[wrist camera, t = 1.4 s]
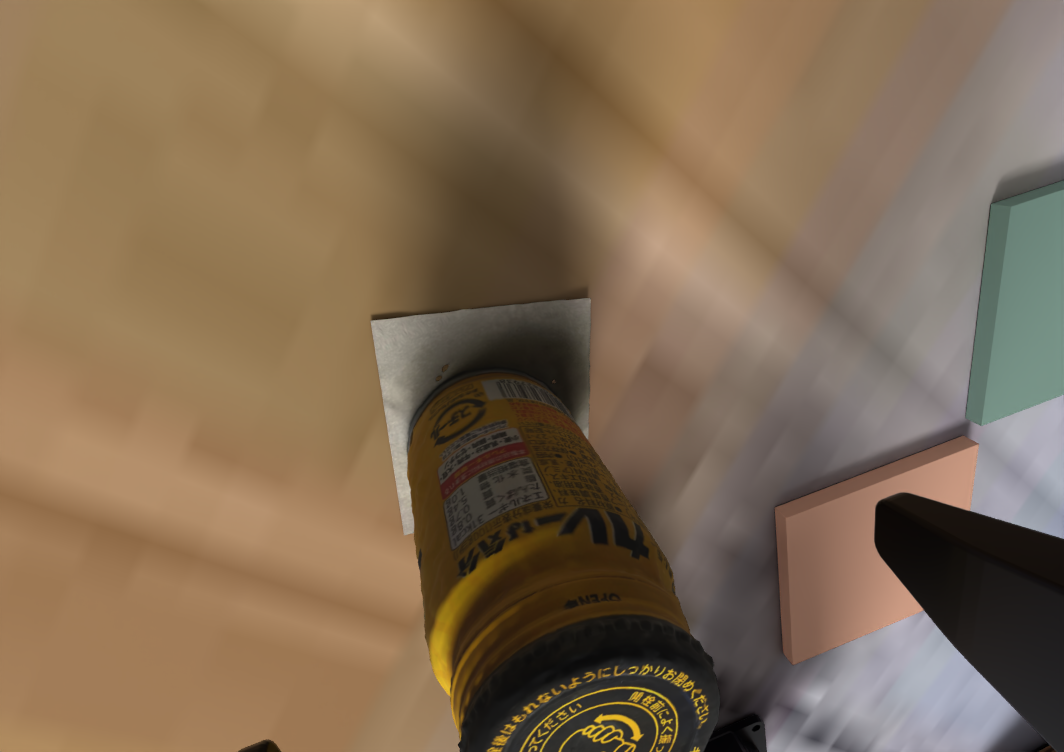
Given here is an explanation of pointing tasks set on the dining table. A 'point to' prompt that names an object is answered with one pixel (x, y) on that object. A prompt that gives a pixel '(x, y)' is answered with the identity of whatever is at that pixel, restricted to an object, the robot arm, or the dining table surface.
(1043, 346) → the mat green
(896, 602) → the mat terracotta
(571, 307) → the condiment
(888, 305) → the dining table surface
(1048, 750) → the basket
